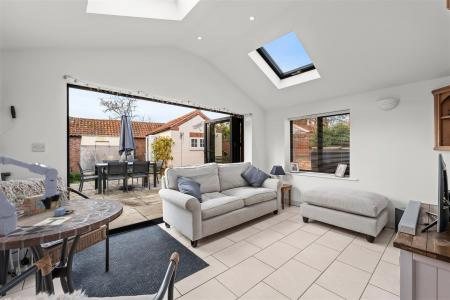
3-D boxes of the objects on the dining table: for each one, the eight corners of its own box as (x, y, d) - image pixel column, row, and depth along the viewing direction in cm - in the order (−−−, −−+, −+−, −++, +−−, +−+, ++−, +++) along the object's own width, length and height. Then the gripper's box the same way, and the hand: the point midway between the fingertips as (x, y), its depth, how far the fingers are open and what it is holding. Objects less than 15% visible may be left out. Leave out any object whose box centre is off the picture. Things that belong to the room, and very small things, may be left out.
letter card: (58, 225, 116) (58, 224, 116) (31, 227, 113) (31, 226, 113) (72, 217, 129) (72, 216, 129) (48, 218, 127) (48, 217, 127)
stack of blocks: (55, 206, 155) (54, 191, 155) (61, 206, 154) (61, 191, 154) (23, 215, 134) (23, 197, 134) (30, 215, 133) (30, 198, 133)
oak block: (52, 211, 120) (53, 203, 120) (43, 211, 119) (43, 203, 119) (58, 208, 125) (58, 201, 125) (49, 209, 124) (49, 201, 124)
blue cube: (61, 216, 131) (61, 210, 131) (54, 216, 131) (54, 210, 131) (65, 214, 136) (65, 208, 136) (58, 214, 135) (58, 208, 135)
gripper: (49, 188, 115) (49, 211, 115) (65, 184, 129) (65, 204, 129) (36, 189, 114) (36, 211, 114) (53, 184, 128) (53, 204, 128)
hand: (51, 207), depth 122 cm, fingers closed on oak block, 5 cm apart
